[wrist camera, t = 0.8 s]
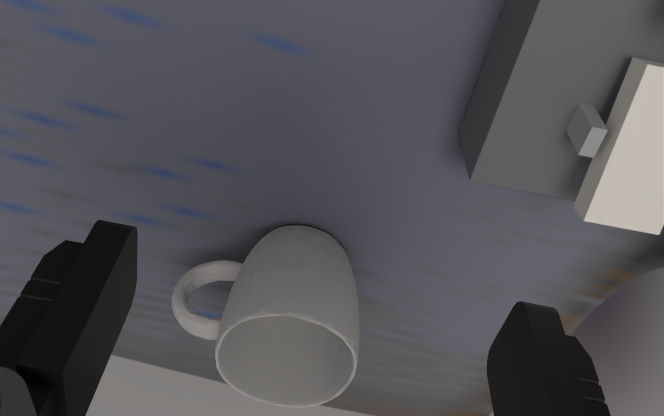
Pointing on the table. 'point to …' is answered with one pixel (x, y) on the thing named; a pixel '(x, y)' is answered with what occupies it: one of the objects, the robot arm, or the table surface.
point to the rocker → (630, 157)
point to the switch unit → (553, 89)
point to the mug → (281, 318)
